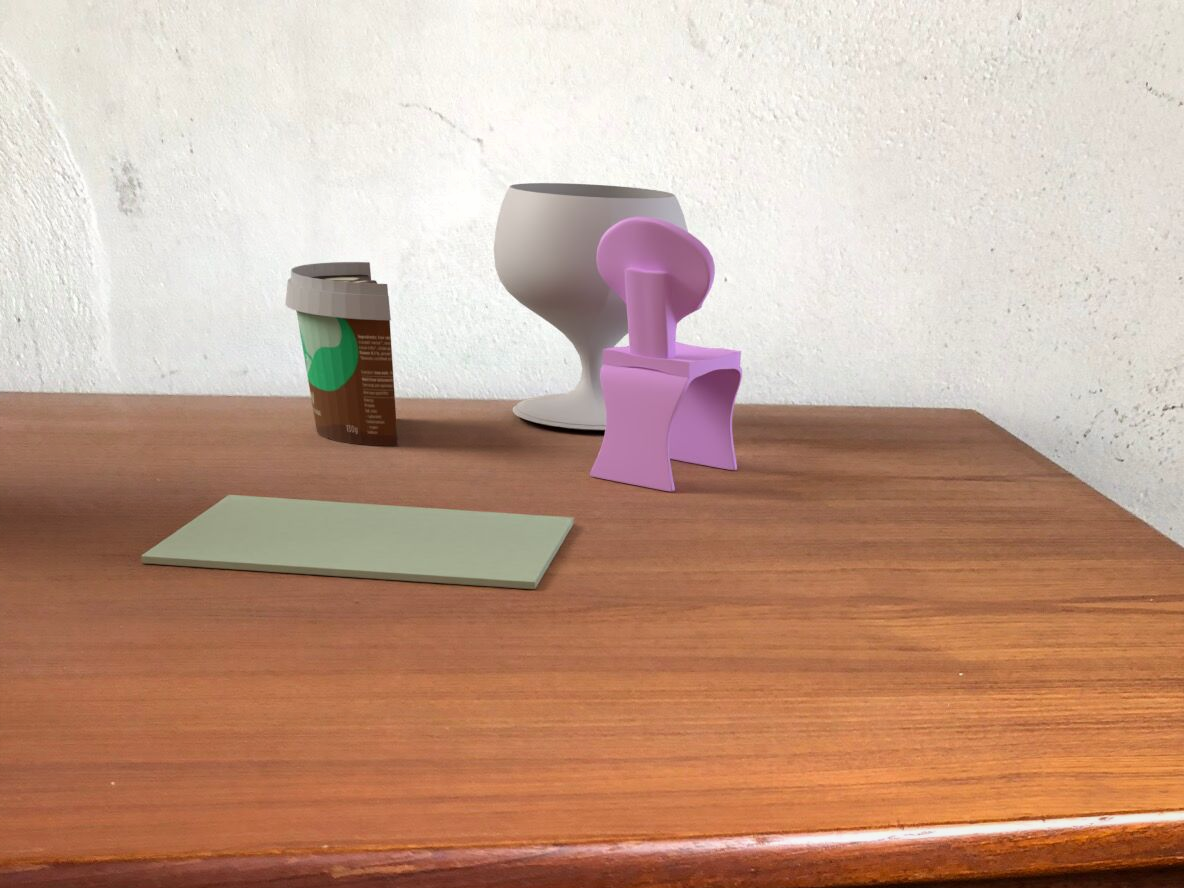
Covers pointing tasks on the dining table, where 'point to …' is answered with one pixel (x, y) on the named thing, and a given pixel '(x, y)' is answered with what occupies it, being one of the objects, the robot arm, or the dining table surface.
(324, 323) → the food container
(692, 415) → the toy chair
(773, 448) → the dining table surface
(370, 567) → the mat
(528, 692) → the dining table surface
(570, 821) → the dining table surface
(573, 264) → the chalice
